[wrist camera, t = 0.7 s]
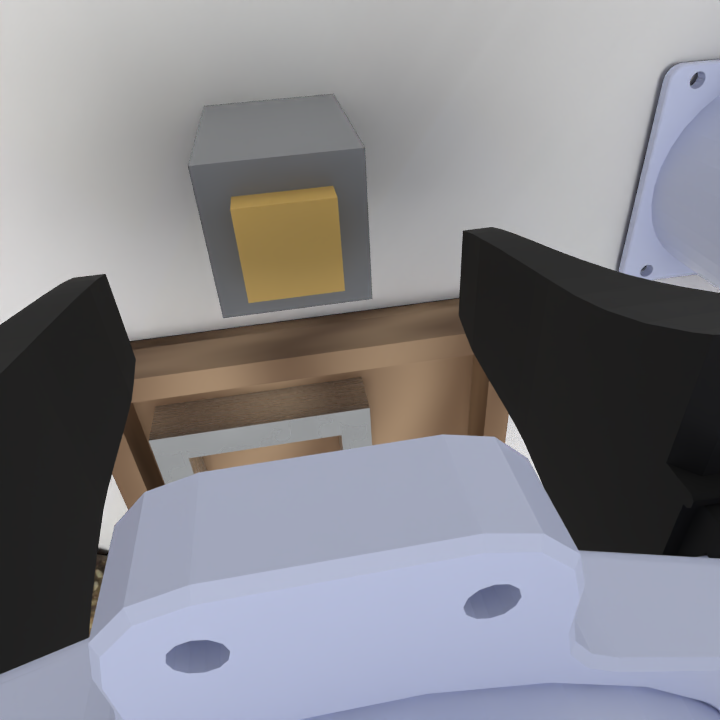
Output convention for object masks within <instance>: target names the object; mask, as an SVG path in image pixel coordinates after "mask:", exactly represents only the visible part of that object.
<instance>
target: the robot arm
mask: <svg viewBox="0 0 720 720" xmlns="http://www.w3.org/2000/svg"><path fill="white" fill-rule="evenodd" d="M697 72H698V78H697V80H696V82H695V83H694V84H693V85H691V86H690V80H691V78H692V76H693V75H694V74H695V73H697ZM646 265H647V267H646V269H645V270H644V271H642V272H641V270H642V268H643V267H644V266H646ZM694 274H698V275H700V276H701V277H703V278H704V279H705V280H707V281H708V282H709V283H711V284H712V285H714V286H715V287H716V288H718V289H719V290H720V59H717V60H707V61H696V62H686V63H679V64H676V65H675V66H673V67H672V68H671V69H670V70H669V71H668V72H667V74H666V75H665V78H664V80H663V84H662V88H661V92H660V97H659V101H658V105H657V109H656V114H655V118H654V122H653V126H652V131H651V135H650V139H649V143H648V148H647V152H646V156H645V160H644V165H643V169H642V173H641V177H640V182H639V186H638V190H637V194H636V199H635V203H634V207H633V211H632V216H631V220H630V224H629V228H628V233H627V237H626V241H625V245H624V250H623V254H622V258H621V262H620V267H619V272H617V271H614V270H611V269H607V268H604V267H601V266H598V265H595V264H592V263H589V262H586V261H583V260H581V259H578V258H575V257H572V256H570V255H567V254H564V253H562V252H559V251H557V250H554V249H552V248H549V247H547V246H544V245H542V244H539V243H537V242H534V241H532V240H529V239H527V238H524V237H521V236H519V235H516V234H513V233H511V232H508V231H505V230H502V229H498V228H493V227H489V228H481V229H473V230H465V231H463V241H462V260H461V278H460V297H459V318H460V321H461V323H462V326H463V329H464V332H465V334H466V337H467V339H468V342H469V344H470V347H471V349H472V351H473V353H474V355H475V357H476V359H477V360H478V362H479V364H480V366H481V367H482V369H483V371H484V372H485V374H486V376H487V378H488V379H489V381H490V383H491V384H492V386H493V388H494V390H495V391H496V393H497V395H498V396H499V398H500V400H501V401H502V403H503V405H504V406H505V408H506V410H507V412H508V413H509V415H510V417H511V418H512V420H513V422H514V423H515V425H516V427H517V429H518V431H519V433H520V435H521V437H522V439H523V441H524V443H525V445H526V447H527V449H528V452H529V454H530V456H531V459H532V461H533V463H534V466H535V468H536V470H537V473H538V475H539V477H540V479H541V482H542V484H543V485H542V484H541V482H540V480H539V478H538V476H537V474H536V473H535V471H534V469H533V467H532V465H531V464H530V462H529V460H528V458H526V457H525V456H523V455H522V454H520V453H519V452H517V451H516V450H514V449H513V448H511V447H510V446H508V445H506V444H505V443H503V442H502V441H500V440H499V439H497V438H496V437H489V436H467V435H445V434H442V435H436V436H429V437H423V438H417V439H410V440H404V441H397V442H391V443H385V444H378V445H372V446H365V447H359V448H353V449H346V450H340V451H333V452H327V453H321V454H314V455H308V456H301V457H295V458H289V459H282V460H276V461H269V462H263V463H257V464H250V465H244V466H237V467H231V468H225V469H218V470H212V471H205V472H199V473H196V474H193V475H191V476H188V477H185V478H182V479H180V480H177V481H174V482H171V483H168V484H166V485H163V486H160V487H157V488H155V489H152V490H149V491H146V492H144V493H143V494H142V496H141V497H140V498H139V499H138V500H137V501H136V502H135V503H134V505H133V506H132V507H131V508H130V509H129V510H128V511H127V512H126V513H125V515H124V516H123V517H122V518H121V519H120V520H119V521H118V522H117V523H116V525H115V526H114V531H113V535H112V540H111V544H110V549H109V553H108V557H107V562H106V566H105V571H104V575H103V579H102V584H101V588H100V593H99V597H98V602H97V606H96V610H95V615H94V619H93V624H92V628H91V633H90V637H89V628H90V616H91V604H92V595H93V586H94V577H95V568H96V559H97V551H98V544H99V537H100V530H101V523H102V515H103V509H104V504H105V500H106V495H107V490H108V486H109V483H110V479H111V475H112V472H113V468H114V464H115V461H116V457H117V454H118V450H119V446H120V443H121V439H122V435H123V432H124V428H125V424H126V420H127V417H128V413H129V409H130V405H131V401H132V394H133V386H134V375H135V363H136V358H135V355H134V353H133V350H132V347H131V344H130V341H129V339H128V336H127V333H126V330H125V327H124V325H123V322H122V319H121V316H120V313H119V310H118V308H117V305H116V302H115V299H114V296H113V294H112V291H111V288H110V285H109V282H108V280H107V277H106V274H101V275H93V276H85V277H77V278H72V279H70V280H68V281H66V282H64V283H62V284H60V285H59V286H57V287H55V288H54V289H52V290H51V291H49V292H48V293H46V294H45V295H43V296H42V297H40V298H39V299H37V300H36V301H34V302H33V303H31V304H30V305H28V306H27V307H26V308H24V309H23V310H21V311H20V312H18V313H17V314H15V315H14V316H12V317H11V318H10V319H8V320H7V321H5V322H4V323H2V324H1V325H0V720H720V293H716V292H710V291H704V290H698V289H692V288H686V287H680V286H675V285H670V284H665V283H660V282H656V281H652V280H657V279H664V278H672V277H679V276H687V275H694Z"/></svg>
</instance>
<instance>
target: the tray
mask: <svg viewBox="0 0 720 720" xmlns="http://www.w3.org/2000/svg"><path fill="white" fill-rule="evenodd" d="M130 344H131V347H132V350H133V353H134V355H135V358H136V363H135V375H134V386H133V394H132V401H131V405H130V409H129V413H128V417H127V420H126V424H125V428H124V432H123V435H122V439H121V443H120V446H119V450H118V454H117V457H116V461H115V464H114V468H113V472H112V475H113V477H114V479H115V481H116V484H117V486H118V488H119V490H120V492H121V495H122V497H123V499H124V501H125V503H126V506H127V508H128V510H129V509H130V508H131V507H132V506H133V505H134V503H135V502H136V501H137V500H138V499H139V498H140V497H141V496H142V494H143V493H144V492H146V491H149V490H152V489H155V488H157V487H160V486H163V485H165V483H164V480H163V477H162V475H161V472H160V469H159V467H158V464H157V461H156V459H155V456H154V454H153V451H152V448H151V446H150V443H149V436H150V431H151V426H152V421H153V416H154V411H155V406H162V405H169V404H176V403H183V402H190V401H197V400H204V399H211V398H218V397H225V396H232V395H239V394H246V393H253V392H260V391H267V390H274V389H281V388H288V387H295V386H302V385H309V384H316V383H323V382H330V381H337V380H344V379H351V378H358V377H362V381H363V384H364V388H365V392H366V396H367V399H368V403H369V407H370V420H371V436H372V445H378V444H385V443H391V442H397V441H404V440H410V439H417V438H423V437H429V436H436V435H442V434H445V435H467V436H489V437H496V438H497V439H499V440H500V441H502V442H503V443H505V438H506V431H507V423H508V415H509V413H508V412H507V410H506V408H505V406H504V405H503V403H502V401H501V400H500V398H499V396H498V395H497V393H496V391H495V390H494V388H493V386H492V384H491V383H490V381H489V379H488V378H487V376H486V374H485V372H484V371H483V369H482V367H481V366H480V364H479V362H478V360H477V359H476V357H475V355H474V353H473V351H472V349H471V347H470V344H469V342H468V339H467V337H466V334H465V332H464V329H463V326H462V323H461V321H460V318H459V298H458V299H451V300H443V301H435V302H428V303H420V304H413V305H405V306H398V307H390V308H382V309H375V310H367V311H360V312H352V313H344V314H337V315H329V316H322V317H314V318H306V319H299V320H291V321H284V322H276V323H268V324H261V325H253V326H246V327H238V328H230V329H223V330H215V331H208V332H200V333H193V334H185V335H177V336H170V337H162V338H155V339H147V340H139V341H132V342H130ZM333 451H340V443H339V436H332V437H326V438H319V439H313V440H306V441H299V442H293V443H286V444H280V445H273V446H267V447H260V448H253V449H247V450H240V451H234V452H227V453H221V454H214V455H207V456H203V459H204V463H205V466H206V469H207V471H212V470H218V469H225V468H231V467H237V466H244V465H250V464H257V463H263V462H269V461H276V460H282V459H289V458H295V457H301V456H308V455H314V454H321V453H327V452H333Z"/></svg>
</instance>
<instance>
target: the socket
mask: <svg viewBox="0 0 720 720" xmlns="http://www.w3.org/2000/svg"><path fill="white" fill-rule="evenodd" d="M332 436H339V443H340V450H346V449H353V448H359V447H365V446H372V436H371V420H370V407H369V403H368V399H367V396H366V392H365V388H364V384H363V381H362V377H358V378H351V379H344V380H337V381H330V382H323V383H316V384H309V385H302V386H295V387H288V388H281V389H274V390H267V391H260V392H253V393H246V394H239V395H232V396H225V397H218V398H211V399H204V400H197V401H190V402H183V403H176V404H169V405H162V406H155V411H154V416H153V421H152V426H151V431H150V436H149V443H150V446H151V448H152V451H153V454H154V456H155V459H156V461H157V464H158V467H159V469H160V472H161V475H162V477H163V480H164V483H165V485H166V484H168V483H171V482H174V481H177V480H180V479H182V478H185V477H188V476H191V475H193V474H196V473H199V472H205V471H207V469H206V466H205V463H204V459H203V456H207V455H214V454H221V453H227V452H234V451H240V450H247V449H253V448H260V447H267V446H273V445H280V444H286V443H293V442H299V441H306V440H313V439H319V438H326V437H332Z"/></svg>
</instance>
